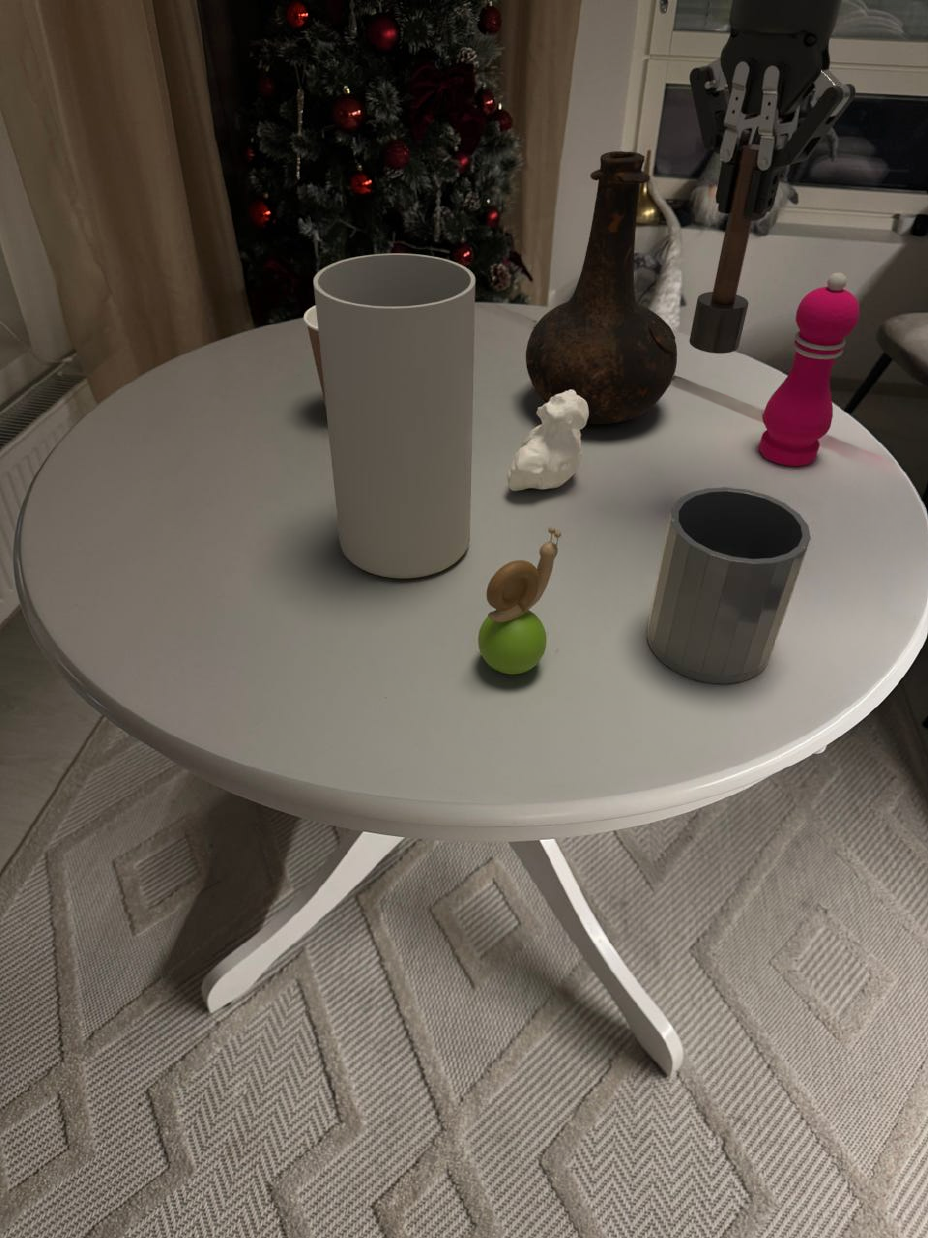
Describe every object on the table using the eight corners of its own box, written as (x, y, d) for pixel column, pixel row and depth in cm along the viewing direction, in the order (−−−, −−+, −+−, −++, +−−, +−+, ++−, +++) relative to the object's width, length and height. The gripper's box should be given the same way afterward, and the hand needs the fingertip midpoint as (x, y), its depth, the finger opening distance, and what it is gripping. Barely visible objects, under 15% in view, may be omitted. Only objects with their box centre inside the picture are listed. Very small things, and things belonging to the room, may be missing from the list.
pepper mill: (811, 475, 92) (871, 290, 80) (746, 458, 95) (793, 276, 82) (825, 447, 97) (884, 269, 84) (763, 432, 100) (810, 256, 87)
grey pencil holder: (693, 589, 77) (721, 473, 69) (793, 645, 71) (836, 526, 63) (622, 638, 71) (643, 519, 64) (723, 703, 66) (761, 581, 58)
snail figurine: (566, 666, 69) (582, 545, 61) (504, 698, 66) (512, 575, 58) (525, 630, 72) (535, 511, 64) (464, 659, 69) (466, 538, 61)
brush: (708, 330, 79) (747, 138, 69) (748, 345, 77) (795, 147, 66) (679, 342, 77) (715, 145, 67) (719, 358, 75) (763, 155, 64)
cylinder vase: (496, 544, 82) (508, 280, 65) (398, 600, 75) (385, 321, 59) (410, 494, 88) (402, 243, 72) (314, 541, 82) (281, 276, 65)
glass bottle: (632, 457, 95) (677, 185, 77) (495, 416, 102) (506, 158, 84) (688, 398, 107) (738, 150, 88) (561, 365, 114) (584, 129, 96)
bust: (520, 523, 88) (589, 466, 80) (472, 468, 88) (536, 405, 79) (570, 473, 96) (638, 417, 88) (526, 423, 96) (590, 361, 87)
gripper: (918, -50, 57) (840, 225, 68) (744, -57, 64) (699, 190, 76) (862, -48, 53) (789, 243, 64) (683, -56, 61) (646, 204, 72)
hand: (741, 213), depth 70 cm, fingers closed on brush, 2 cm apart
